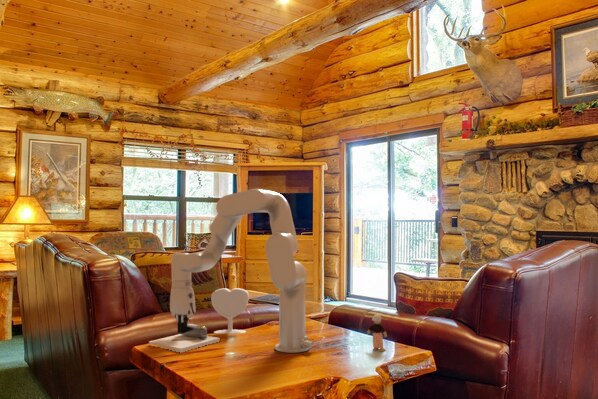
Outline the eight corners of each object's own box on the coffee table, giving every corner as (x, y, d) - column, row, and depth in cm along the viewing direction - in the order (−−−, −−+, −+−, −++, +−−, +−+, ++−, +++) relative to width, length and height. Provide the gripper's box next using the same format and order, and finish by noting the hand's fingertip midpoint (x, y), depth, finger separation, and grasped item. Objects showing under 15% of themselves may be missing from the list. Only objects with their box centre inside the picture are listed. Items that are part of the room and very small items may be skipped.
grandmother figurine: (389, 349, 175) (388, 314, 176) (386, 352, 172) (386, 315, 172) (368, 347, 178) (368, 312, 179) (365, 350, 175) (365, 314, 176)
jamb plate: (219, 341, 188) (219, 327, 188) (180, 352, 173) (180, 337, 173) (188, 335, 199) (188, 322, 199) (148, 345, 183) (149, 330, 184)
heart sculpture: (210, 333, 203) (210, 289, 204) (212, 330, 208) (212, 288, 209) (248, 332, 203) (248, 289, 204) (249, 330, 208) (249, 287, 209)
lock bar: (208, 337, 187) (208, 326, 187) (202, 339, 184) (202, 328, 185) (185, 332, 195) (185, 322, 195) (178, 334, 192) (178, 323, 193)
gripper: (202, 284, 189) (203, 332, 189) (175, 282, 198) (176, 328, 197) (187, 286, 183) (188, 336, 182) (161, 285, 192) (161, 332, 191)
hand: (182, 332), depth 190 cm, fingers closed
